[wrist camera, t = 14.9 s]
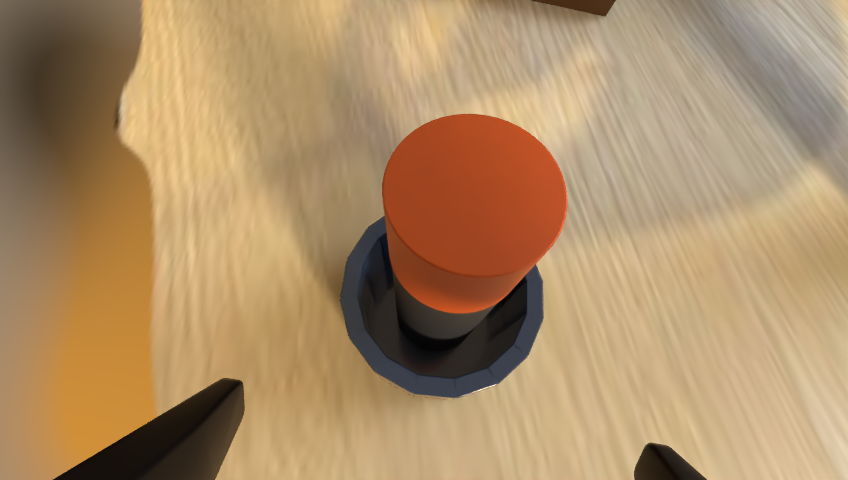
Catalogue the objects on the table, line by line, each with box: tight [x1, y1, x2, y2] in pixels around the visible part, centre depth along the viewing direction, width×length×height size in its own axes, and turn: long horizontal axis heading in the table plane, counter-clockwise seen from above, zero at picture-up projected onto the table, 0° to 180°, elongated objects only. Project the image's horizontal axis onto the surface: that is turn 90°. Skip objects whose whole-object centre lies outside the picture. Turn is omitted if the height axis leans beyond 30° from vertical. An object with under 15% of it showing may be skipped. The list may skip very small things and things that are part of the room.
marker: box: [382, 114, 567, 351], centre depth 15 cm, size 4×4×12 cm
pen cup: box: [340, 216, 543, 400], centre depth 19 cm, size 8×8×5 cm
